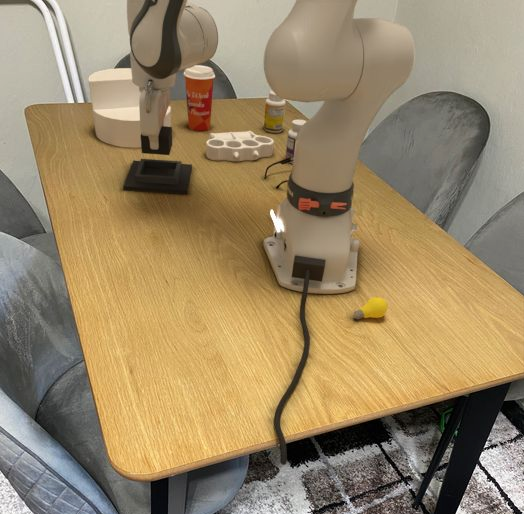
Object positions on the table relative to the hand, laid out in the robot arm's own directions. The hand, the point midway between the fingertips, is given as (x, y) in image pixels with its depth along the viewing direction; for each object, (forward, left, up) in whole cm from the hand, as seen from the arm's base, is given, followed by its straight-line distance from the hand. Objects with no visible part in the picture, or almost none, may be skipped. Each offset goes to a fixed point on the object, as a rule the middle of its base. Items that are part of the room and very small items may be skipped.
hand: (157, 141), depth 115 cm
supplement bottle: (+37, -28, -9) cm, 47 cm away
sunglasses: (+4, -31, -9) cm, 32 cm away
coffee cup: (+35, -7, -9) cm, 36 cm away
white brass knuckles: (+19, -18, -9) cm, 27 cm away
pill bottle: (+16, -33, -9) cm, 38 cm away
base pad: (0, 0, -9) cm, 8 cm away
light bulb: (-48, -41, -9) cm, 64 cm away
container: (+27, +10, -9) cm, 30 cm away
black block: (0, 0, -2) cm, 2 cm away
